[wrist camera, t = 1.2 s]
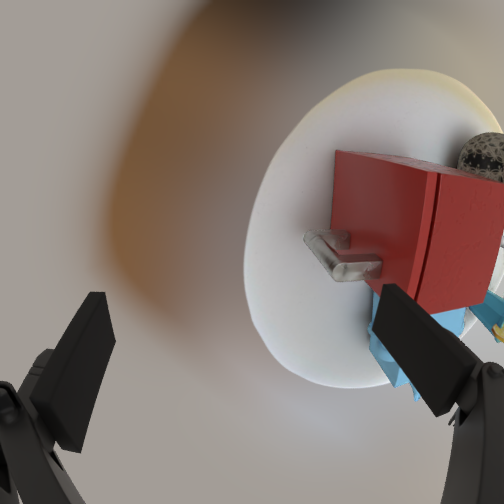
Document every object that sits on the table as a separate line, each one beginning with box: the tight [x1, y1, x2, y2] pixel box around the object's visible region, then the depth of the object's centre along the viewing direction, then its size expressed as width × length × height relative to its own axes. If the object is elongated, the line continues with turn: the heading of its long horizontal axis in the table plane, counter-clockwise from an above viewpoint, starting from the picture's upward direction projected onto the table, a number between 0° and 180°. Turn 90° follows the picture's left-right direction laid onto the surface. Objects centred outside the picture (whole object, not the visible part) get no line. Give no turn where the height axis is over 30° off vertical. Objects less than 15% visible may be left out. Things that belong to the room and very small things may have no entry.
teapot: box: [368, 292, 466, 401], centre depth 40 cm, size 18×16×13 cm
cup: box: [469, 290, 504, 343], centre depth 41 cm, size 14×8×15 cm, turn 102°
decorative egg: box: [457, 132, 504, 183], centre depth 30 cm, size 12×12×15 cm
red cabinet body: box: [347, 151, 504, 315], centre depth 29 cm, size 10×12×18 cm
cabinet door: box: [303, 150, 437, 300], centre depth 28 cm, size 6×12×18 cm, turn 179°
